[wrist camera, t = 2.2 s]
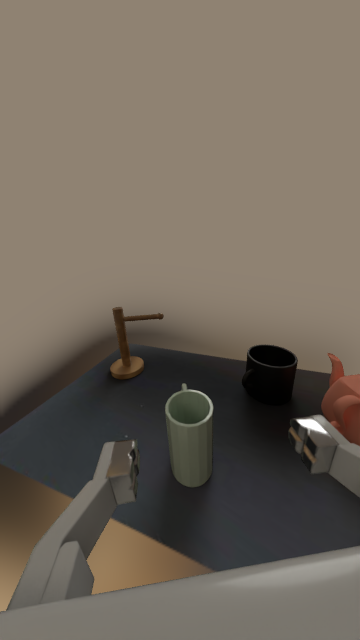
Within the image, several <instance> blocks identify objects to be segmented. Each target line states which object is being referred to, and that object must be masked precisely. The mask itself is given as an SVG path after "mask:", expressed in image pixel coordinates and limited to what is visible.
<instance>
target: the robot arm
mask: <svg viewBox="0 0 360 640" xmlns="http://www.w3.org/2000/svg"><path fill="white" fill-rule="evenodd" d="M290 425H291V426H292V427H291V428H290V429H289V432H288V437H289V441H290V443H291V445H292V447H293V448H294V450H295V451H296V452H298V453H299V454H301V460H302V461H303V463H304V464H305V466H306V467H307V469H308V470H309V471H310V473H311V474H319V473H328V472H329V474H330V475H331V476H333V477H334V478H335V479H336V480H338V481H339V482H340V483H342V484H343V485H344V486H345V487H347V488H348V489H349V490H350V491H352V492H353V493H354V494H356V495H357V496H358V497H359V498H360V446H358V445H356V444H354V443H350V442H349V441H348V440H347V439H346V438H345V437H344V436H343V435H342V434H341V433H340V432H338V431H337V430H336V429H335V428H334V427H333V426H332V425H331V424H330V423H329V422H328V421H327V420H326V419H325V418H324V417H323V416H321V415H314V416H305V417H298V418H292V419H291V421H290ZM139 468H140V455H139V450H138V449H137V440H136V439H134V440H124V441H115V442H106V443H105V444H104V446H103V448H102V452H101V455H100V458H99V461H98V464H97V468H96V471H95V474H94V477H93V480H92V481H89V482H88V483H87V484H86V485H85V487H84V488H83V489H82V490H81V491H80V493H79V494H78V495H77V496H76V497H75V498H74V500H73V501H72V502H71V503H70V504H69V506H68V507H67V508H66V509H65V511H64V512H63V513H62V514H61V515H60V516H59V518H58V519H57V520H56V521H55V522H54V524H53V525H52V526H51V527H50V528H49V530H48V531H47V532H46V533H45V534H44V536H43V537H42V538H41V539H40V540H39V542H38V543H37V544H36V545H35V546H34V549H33V551H32V554H31V556H30V558H29V560H28V562H27V564H26V567H25V569H24V571H23V574H22V576H21V578H20V580H19V583H18V585H17V587H16V589H15V592H14V594H13V596H12V599H11V601H10V603H9V605H8V608H7V610H6V611H1V612H0V640H360V546H356V547H350V548H345V549H339V550H334V551H328V552H323V553H318V554H312V555H307V556H301V557H296V558H290V559H285V560H279V561H274V562H268V563H263V564H257V565H252V566H247V567H241V568H236V569H230V570H225V571H219V572H214V573H208V574H203V575H197V576H192V577H187V578H182V579H176V580H171V581H165V582H160V583H154V584H148V585H143V586H138V587H132V588H127V589H121V590H116V591H111V592H105V593H99V594H95V595H91V593H92V588H93V583H94V577H93V574H92V572H91V570H90V568H89V565H88V564H87V561H86V560H87V558H88V556H89V555H90V553H91V551H92V549H93V547H94V546H95V544H96V542H97V540H98V539H99V537H100V535H101V533H102V532H103V530H104V528H105V526H106V525H107V523H108V521H109V519H110V517H111V516H112V514H113V512H114V510H115V509H116V507H117V505H119V504H124V503H129V502H135V501H136V496H137V487H138V482H137V475H138V474H139Z"/></svg>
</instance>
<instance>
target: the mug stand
mask: <svg viewBox="0 0 360 640" xmlns="http://www.w3.org/2000/svg"><path fill="white" fill-rule="evenodd" d="M113 315H114V321H115V326H116V331H117V337H118V342H119V348H120V353H121V359H119V360H117V361H116V362H114V363H113V364H112V365H111V368H110V369H111V374H112V376H113V377H114V378H117V379H129V378H132V377H135V376H137V375H138V374H140V373H141V372H142V371H143V369H144V363H143V360H142V359H141V358H139V357H130V351H129V345H128V340H127V334H126V327H125V321H135V320H148V319H163V314H162V313H159V314H153V315H140V316H128V317H124V315H123V309H122V307H116V308H113Z"/></svg>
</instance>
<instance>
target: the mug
mask: <svg viewBox="0 0 360 640" xmlns="http://www.w3.org/2000/svg"><path fill="white" fill-rule="evenodd" d="M297 361H298V360H297V357H296V356H295V355H294V354H293V353H292V352H291V351H289V350H287V349H284V348H281V347H278V346H274V345H256V346H253V347H251V348H250V349H249V350H248V352H247V365H246V373H245V375H244V376H243V379H242V385H243V387H244V388H245V389H246V390H247V392H248V393H249V394H250V395H251V396H252V397H253V398H254V399H256V400H258V401H260V402H262V403H265V404H270V405H281V404H285V403H286V402H288V401H289V400H290V398H291V395H292V390H293V384H294V379H295V373H296V368H297Z"/></svg>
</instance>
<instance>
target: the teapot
mask: <svg viewBox="0 0 360 640" xmlns="http://www.w3.org/2000/svg"><path fill="white" fill-rule="evenodd" d="M328 356H329V358H330V359H331V362H332V373H331V377H330V382H329V384H330V388H329V390H328V391H327V393H326V394H325V396H324V398H323V401H322V404H321V408H322V411H323V414H324V416H325V418H326V420H327V421H328V422H329V423H330V424H331V425H332V426H333V427H334V428H335V429H336V430H337V431H338V432H340V433H341V434H342V435H343V436H344V437H345V438H346V439H347V440H348V441H349V442H350V443H354V444H356V445H358V446H360V374H358V375H350V376H344V371H343V366H342V363H341V361H340V360H339V359H338V358H337V357H336V356H335V355H333V354H330V353H328Z"/></svg>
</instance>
